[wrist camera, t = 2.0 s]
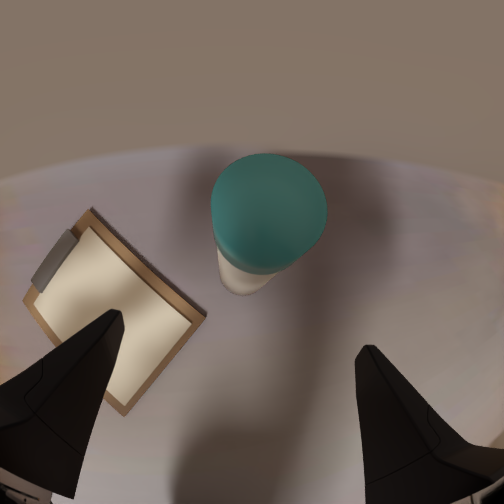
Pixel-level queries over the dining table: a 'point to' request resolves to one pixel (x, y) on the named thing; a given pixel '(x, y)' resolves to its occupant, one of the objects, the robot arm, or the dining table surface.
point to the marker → (264, 219)
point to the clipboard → (111, 305)
